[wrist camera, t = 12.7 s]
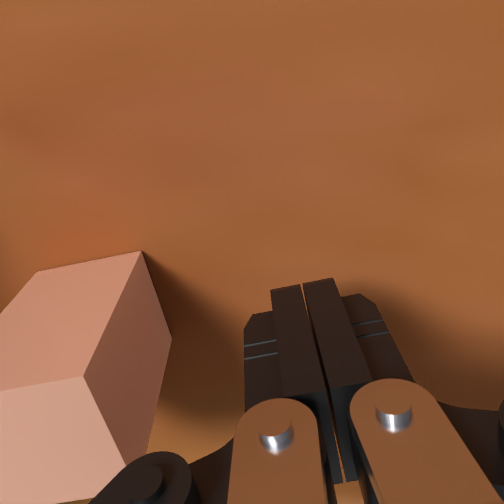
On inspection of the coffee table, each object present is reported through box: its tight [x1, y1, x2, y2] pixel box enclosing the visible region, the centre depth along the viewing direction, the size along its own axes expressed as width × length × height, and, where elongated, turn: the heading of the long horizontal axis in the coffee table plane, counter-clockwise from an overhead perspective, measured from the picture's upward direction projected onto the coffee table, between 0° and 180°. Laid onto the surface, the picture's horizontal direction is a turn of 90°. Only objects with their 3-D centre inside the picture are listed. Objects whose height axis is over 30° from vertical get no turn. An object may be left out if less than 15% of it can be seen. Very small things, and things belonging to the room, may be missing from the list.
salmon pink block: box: [0, 251, 172, 504], centre depth 11 cm, size 3×3×5 cm
